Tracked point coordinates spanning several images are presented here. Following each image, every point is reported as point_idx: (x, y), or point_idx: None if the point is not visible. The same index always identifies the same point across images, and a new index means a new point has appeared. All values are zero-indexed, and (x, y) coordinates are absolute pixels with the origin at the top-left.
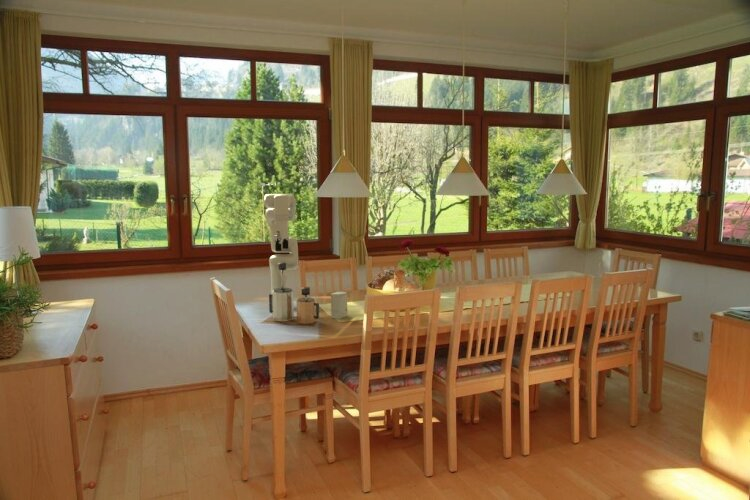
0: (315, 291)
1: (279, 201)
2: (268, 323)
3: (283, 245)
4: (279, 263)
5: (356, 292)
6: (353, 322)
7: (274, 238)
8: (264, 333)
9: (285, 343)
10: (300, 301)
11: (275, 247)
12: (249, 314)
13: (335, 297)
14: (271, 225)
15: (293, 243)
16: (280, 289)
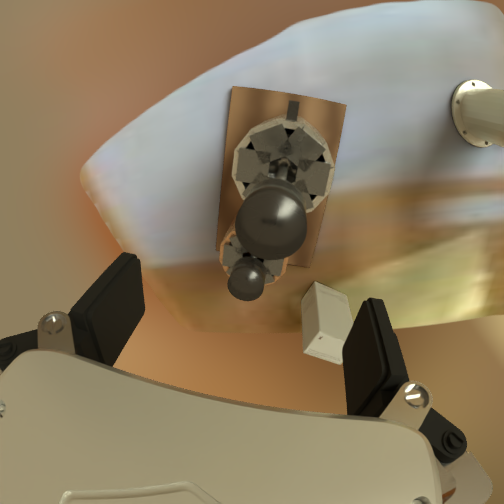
0: None
1: None
2: (229, 113)
3: (366, 337)
4: (241, 211)
5: None
6: (288, 326)
7: (24, 358)
8: (153, 129)
9: (98, 205)
10: (225, 244)
11: (103, 274)
12: (366, 22)
13: (309, 335)
14: None
15: None
16: (289, 159)
